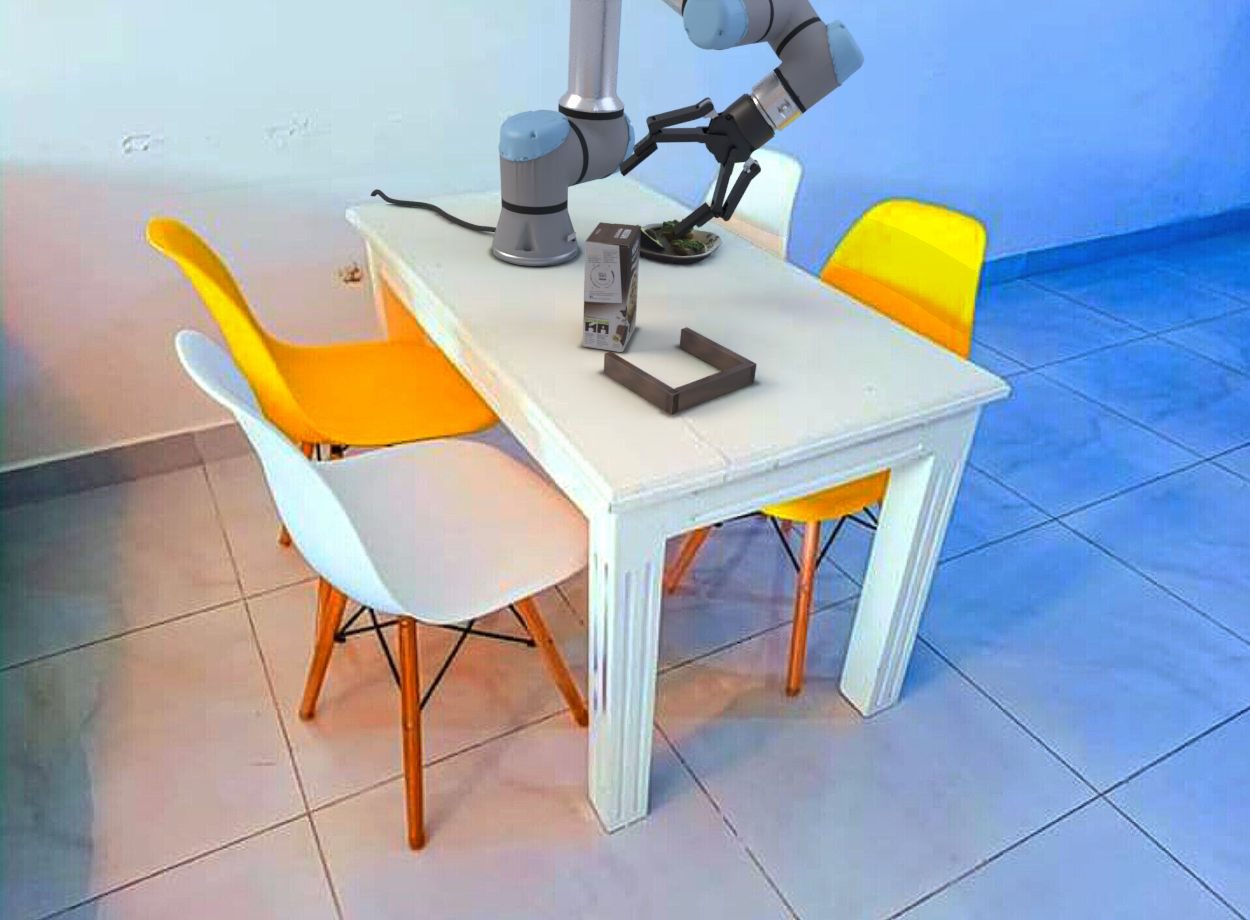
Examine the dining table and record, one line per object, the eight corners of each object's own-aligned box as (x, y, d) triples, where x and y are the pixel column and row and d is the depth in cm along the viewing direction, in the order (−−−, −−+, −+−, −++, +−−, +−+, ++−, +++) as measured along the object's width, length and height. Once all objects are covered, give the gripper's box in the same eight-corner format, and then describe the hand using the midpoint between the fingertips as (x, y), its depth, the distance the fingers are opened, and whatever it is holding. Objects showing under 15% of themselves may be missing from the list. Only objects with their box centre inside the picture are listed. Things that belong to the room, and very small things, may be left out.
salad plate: (654, 222, 182) (655, 199, 179) (737, 240, 175) (739, 216, 173) (606, 250, 167) (607, 225, 165) (694, 271, 161) (697, 246, 158)
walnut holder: (603, 372, 127) (604, 353, 125) (685, 345, 136) (686, 326, 134) (671, 415, 118) (672, 394, 116) (754, 382, 127) (756, 363, 125)
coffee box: (624, 353, 132) (629, 245, 124) (581, 347, 133) (583, 240, 125) (637, 327, 140) (643, 224, 131) (596, 322, 141) (599, 219, 132)
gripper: (718, 52, 124) (599, 153, 131) (813, 184, 138) (699, 268, 145) (709, 35, 129) (595, 133, 137) (801, 163, 143) (693, 245, 151)
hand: (649, 203), depth 141 cm, fingers open, 13 cm apart
